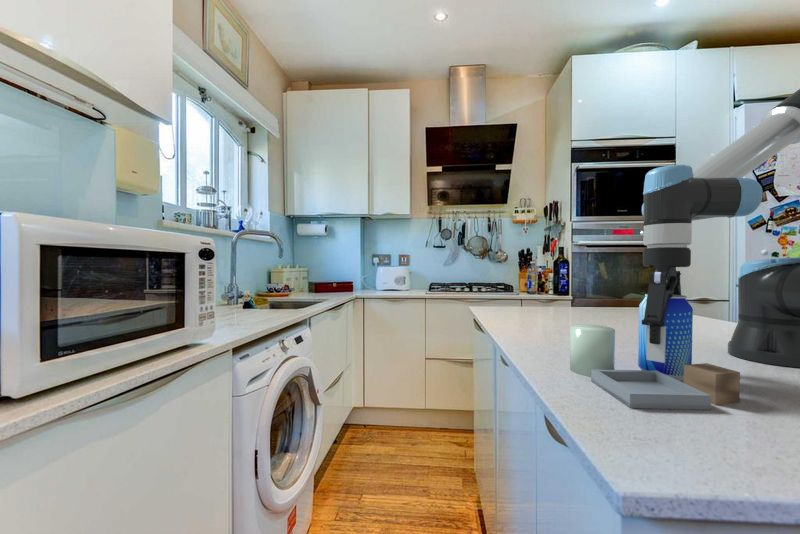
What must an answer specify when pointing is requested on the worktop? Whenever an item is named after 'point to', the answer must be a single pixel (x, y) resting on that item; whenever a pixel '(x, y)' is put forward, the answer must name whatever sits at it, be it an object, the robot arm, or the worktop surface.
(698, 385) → the walnut block
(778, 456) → the worktop surface
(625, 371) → the slate tray
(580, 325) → the pale green cylinder
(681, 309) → the beer can
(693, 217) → the robot arm
